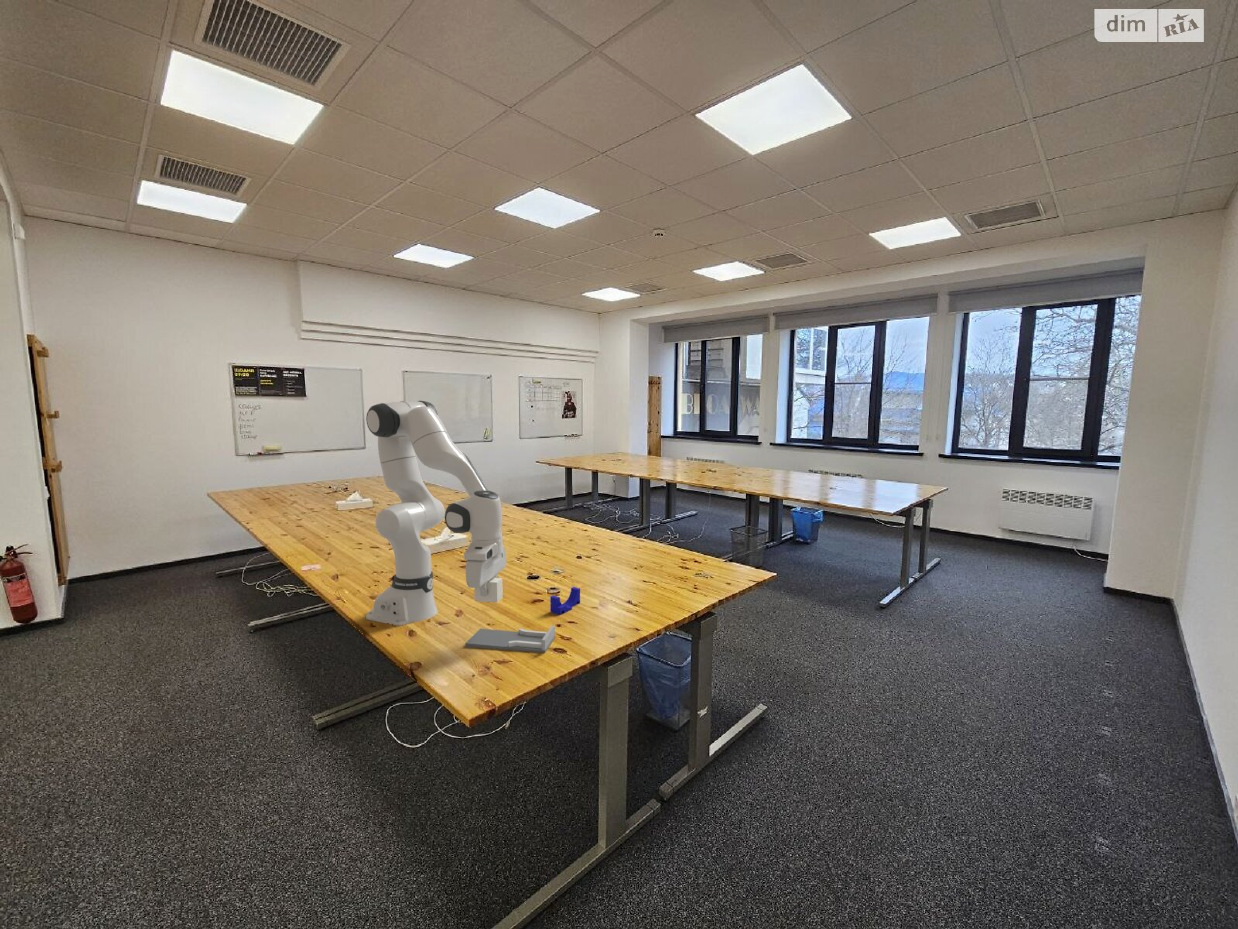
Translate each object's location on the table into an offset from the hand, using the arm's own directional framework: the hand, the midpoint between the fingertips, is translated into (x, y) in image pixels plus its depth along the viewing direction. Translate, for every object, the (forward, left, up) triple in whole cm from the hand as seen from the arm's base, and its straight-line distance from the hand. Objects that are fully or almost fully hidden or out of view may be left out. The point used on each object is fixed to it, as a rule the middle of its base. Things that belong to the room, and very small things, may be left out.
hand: (488, 592), depth 148 cm
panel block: (0, 0, -2) cm, 2 cm away
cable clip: (+16, +28, -15) cm, 36 cm away
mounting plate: (+7, 0, -15) cm, 16 cm away
